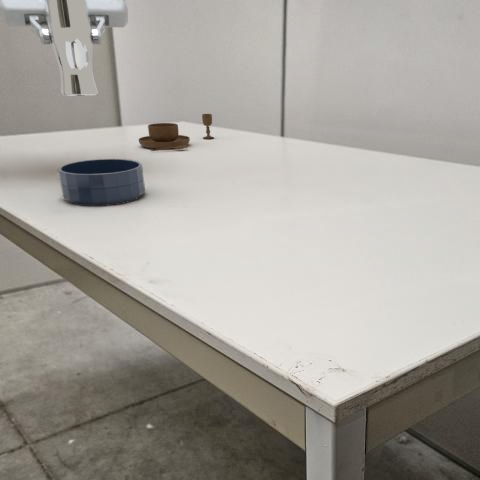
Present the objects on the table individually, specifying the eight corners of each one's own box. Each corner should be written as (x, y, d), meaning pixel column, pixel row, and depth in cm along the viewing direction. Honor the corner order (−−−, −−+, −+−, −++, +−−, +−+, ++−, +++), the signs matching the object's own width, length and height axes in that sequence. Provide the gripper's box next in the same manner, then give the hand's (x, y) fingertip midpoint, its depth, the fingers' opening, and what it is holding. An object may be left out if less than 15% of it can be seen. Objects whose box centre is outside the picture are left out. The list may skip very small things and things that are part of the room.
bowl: (56, 208, 96) (50, 176, 94) (70, 189, 107) (65, 160, 105) (142, 204, 98) (139, 173, 96) (147, 186, 110) (144, 157, 108)
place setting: (133, 141, 153) (130, 116, 151) (211, 137, 161) (210, 113, 159) (146, 153, 139) (143, 126, 137) (231, 147, 147) (230, 121, 144)
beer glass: (50, 96, 105) (33, -4, 98) (71, 92, 111) (56, -2, 104) (88, 96, 104) (73, -4, 97) (108, 93, 110) (95, -2, 104)
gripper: (-11, -41, 101) (0, 26, 97) (119, -35, 108) (134, 27, 104) (-4, -8, 106) (7, 56, 102) (119, -5, 114) (133, 55, 110)
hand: (72, 41), depth 103 cm, fingers closed on beer glass, 7 cm apart
